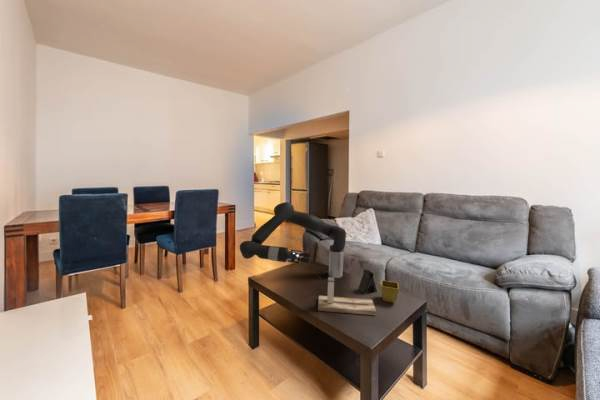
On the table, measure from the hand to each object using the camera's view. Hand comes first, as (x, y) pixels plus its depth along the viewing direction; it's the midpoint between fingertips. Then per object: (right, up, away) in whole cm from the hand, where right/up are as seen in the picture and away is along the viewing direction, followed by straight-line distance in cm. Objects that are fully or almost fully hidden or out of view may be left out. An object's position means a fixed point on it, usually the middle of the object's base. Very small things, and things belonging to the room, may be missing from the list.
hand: (309, 257), depth 131 cm
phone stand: (+35, -24, +19) cm, 46 cm away
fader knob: (+11, -22, 0) cm, 25 cm away
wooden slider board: (+19, -25, 0) cm, 31 cm away
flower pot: (+44, -25, +8) cm, 51 cm away
